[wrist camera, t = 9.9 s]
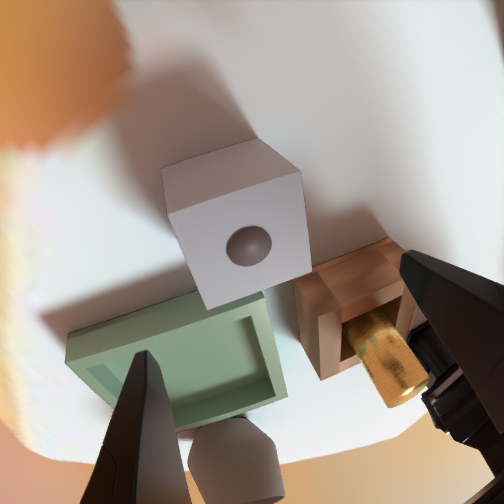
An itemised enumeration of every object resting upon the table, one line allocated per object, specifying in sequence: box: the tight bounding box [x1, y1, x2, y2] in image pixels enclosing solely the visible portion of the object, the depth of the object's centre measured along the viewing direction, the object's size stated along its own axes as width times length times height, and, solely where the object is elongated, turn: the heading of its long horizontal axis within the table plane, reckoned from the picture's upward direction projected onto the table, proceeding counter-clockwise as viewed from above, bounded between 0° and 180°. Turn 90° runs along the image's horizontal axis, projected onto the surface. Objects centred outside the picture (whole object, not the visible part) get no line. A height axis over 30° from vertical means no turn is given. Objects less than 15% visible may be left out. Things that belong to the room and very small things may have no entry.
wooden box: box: [292, 237, 416, 381], centre depth 22 cm, size 8×8×4 cm
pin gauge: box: [342, 306, 430, 408], centre depth 20 cm, size 3×3×9 cm
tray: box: [65, 290, 288, 433], centre depth 22 cm, size 13×13×2 cm
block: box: [161, 138, 312, 310], centre depth 15 cm, size 5×5×5 cm
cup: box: [187, 417, 285, 504], centre depth 28 cm, size 10×9×10 cm
